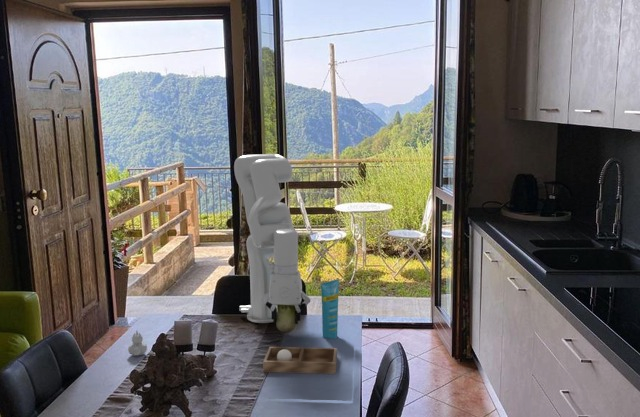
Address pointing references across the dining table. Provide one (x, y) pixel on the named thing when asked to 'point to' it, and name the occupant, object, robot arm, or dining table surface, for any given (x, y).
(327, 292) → the tube
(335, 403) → the dining table surface
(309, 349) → the wooden compartment tray
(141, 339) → the grey figurine
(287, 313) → the fennel bulb
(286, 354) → the cream egg
